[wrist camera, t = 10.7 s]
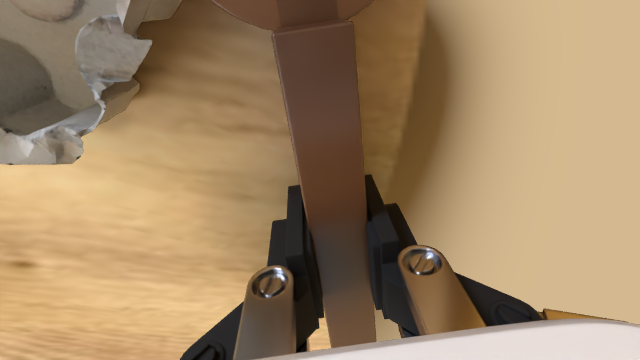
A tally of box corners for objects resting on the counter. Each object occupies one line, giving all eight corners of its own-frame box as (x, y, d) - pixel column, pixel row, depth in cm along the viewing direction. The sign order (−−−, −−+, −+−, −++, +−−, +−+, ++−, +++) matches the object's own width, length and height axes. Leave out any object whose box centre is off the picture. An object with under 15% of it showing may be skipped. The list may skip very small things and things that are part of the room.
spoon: (408, 308, 16) (431, 371, 13) (288, 325, 16) (286, 391, 14) (417, -345, 6) (513, -622, 3) (107, -293, 6) (-42, -527, 4)
